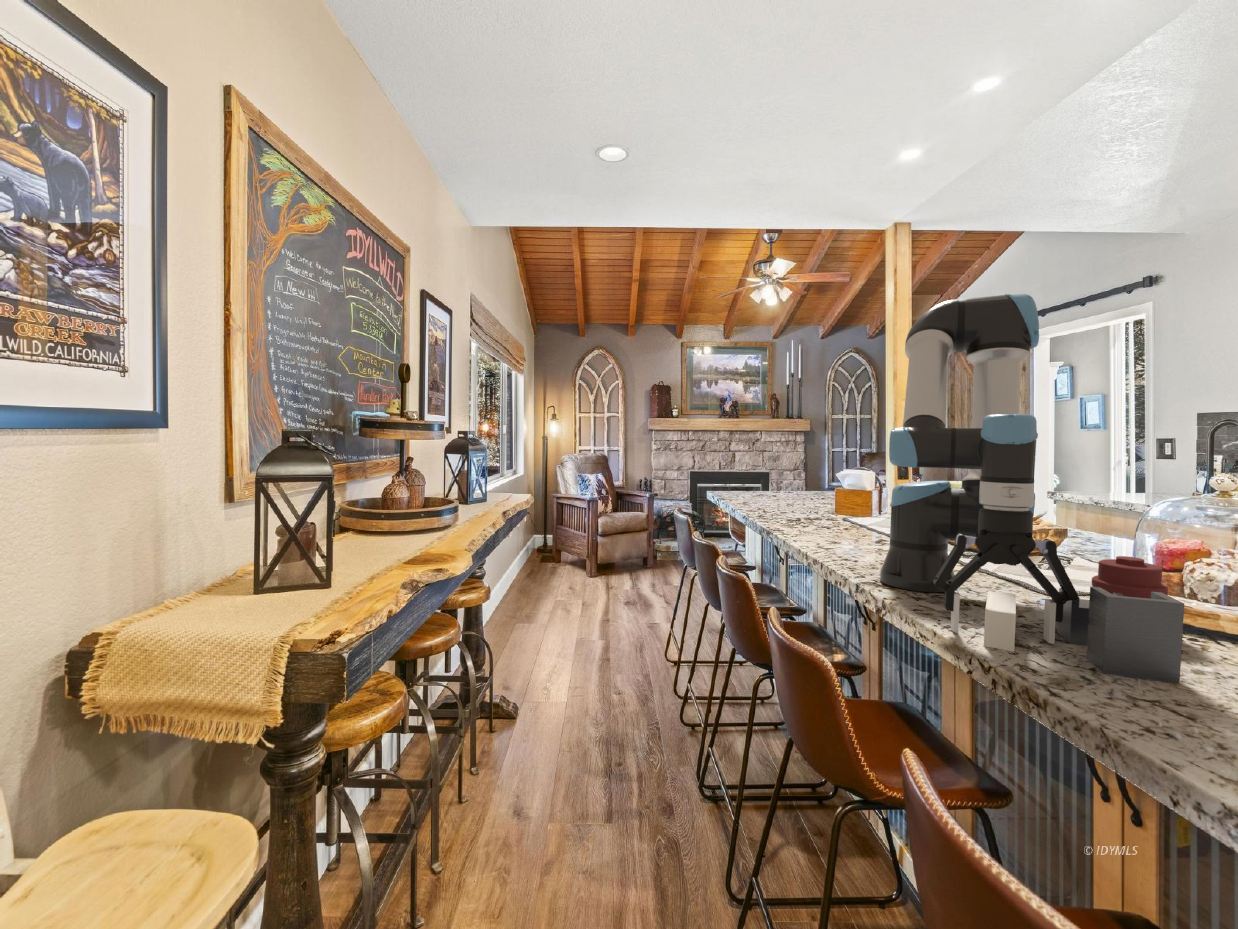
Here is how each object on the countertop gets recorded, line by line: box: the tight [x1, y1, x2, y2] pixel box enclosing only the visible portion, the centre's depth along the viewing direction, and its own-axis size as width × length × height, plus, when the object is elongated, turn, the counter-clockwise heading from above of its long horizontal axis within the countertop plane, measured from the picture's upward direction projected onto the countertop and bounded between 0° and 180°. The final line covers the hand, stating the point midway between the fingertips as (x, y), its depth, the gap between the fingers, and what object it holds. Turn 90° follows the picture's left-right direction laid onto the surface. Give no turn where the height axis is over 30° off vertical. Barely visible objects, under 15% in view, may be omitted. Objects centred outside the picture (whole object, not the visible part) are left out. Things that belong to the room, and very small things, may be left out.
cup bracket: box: [1086, 585, 1185, 684], centre depth 82 cm, size 6×8×11 cm
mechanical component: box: [1091, 555, 1169, 599], centre depth 101 cm, size 12×10×10 cm
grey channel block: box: [1056, 587, 1124, 646], centre depth 95 cm, size 6×8×8 cm
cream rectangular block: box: [983, 590, 1017, 652], centre depth 96 cm, size 14×4×6 cm, turn 146°
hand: (1000, 635), depth 96 cm, fingers open, 13 cm apart
